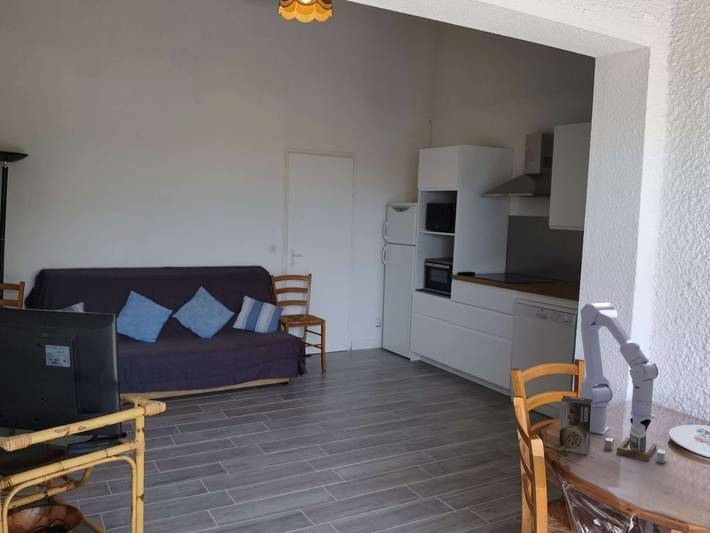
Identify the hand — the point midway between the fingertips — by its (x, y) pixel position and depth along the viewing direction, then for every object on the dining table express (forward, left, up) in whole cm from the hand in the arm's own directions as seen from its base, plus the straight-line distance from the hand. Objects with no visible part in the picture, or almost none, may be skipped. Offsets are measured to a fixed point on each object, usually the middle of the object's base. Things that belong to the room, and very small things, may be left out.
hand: (639, 441), depth 191 cm
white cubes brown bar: (0, -3, -3) cm, 4 cm away
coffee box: (-16, -14, -3) cm, 22 cm away
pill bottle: (0, -2, -2) cm, 3 cm away
